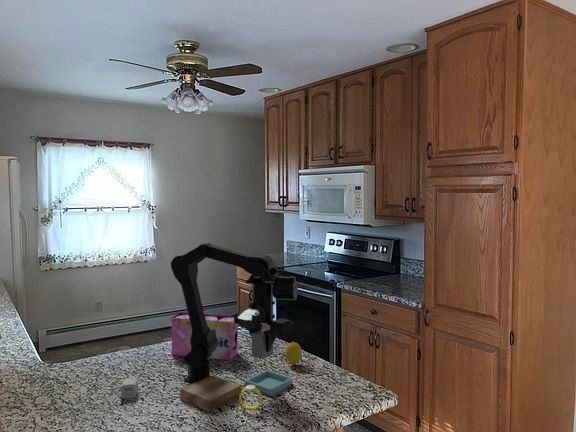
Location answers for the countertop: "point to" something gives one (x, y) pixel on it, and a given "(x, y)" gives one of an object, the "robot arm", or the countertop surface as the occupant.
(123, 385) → the usb wall charger
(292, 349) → the lemon
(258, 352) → the plug block
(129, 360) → the countertop surface
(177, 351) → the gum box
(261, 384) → the teal tray
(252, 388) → the watch
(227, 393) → the walnut dock
